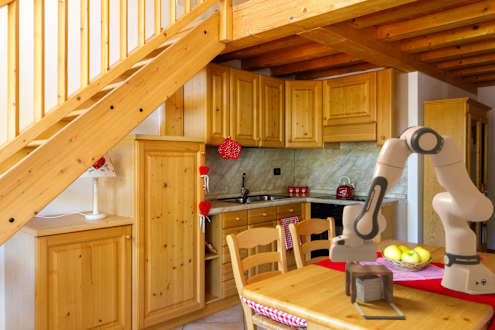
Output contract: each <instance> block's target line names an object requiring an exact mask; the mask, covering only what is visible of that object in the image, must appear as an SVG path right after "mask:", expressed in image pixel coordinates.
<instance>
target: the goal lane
mask: <svg viewBox="0 0 495 330" xmlns="http://www.w3.org/2000/svg"><path fill="white" fill-rule="evenodd" d="M353 305H354V307H355V309H356V310H357V311H358V313H359V314H360V316H361V317H362V318H364V316H366V314H365V313H364V311H363V310H362V308H361V307H360V305H359V304H358V303H357V302H356V303H353ZM389 306H390V307H392V309H393V310H394V311H395V312H396V313H397V314H398V316H404V318H406V317H405V314H404V313H403V312H402V311H401V310H400V309H399V308H398V307H397V305H395V304H394V302H393V303H390V304H389Z"/></svg>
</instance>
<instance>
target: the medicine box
mask: <svg viewBox="0 0 495 330" xmlns="http://www.w3.org/2000/svg"><path fill="white" fill-rule="evenodd" d="M381 299H382V296H381V277H380V275H361V276H357V294H356V300H359V301H360V302H362V303H368V302H374V301H379V300H381Z"/></svg>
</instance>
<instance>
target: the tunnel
mask: <svg viewBox="0 0 495 330" xmlns="http://www.w3.org/2000/svg"><path fill="white" fill-rule="evenodd" d="M344 267H345V270H344V271H345V273H344V274H345V275H344V276H345V277H344V282H345V284H344V285H345V286H344V287H345V289H344V290H345V293H344V294H345V296H350V303H351V304H354V303H357V294H356V275H361V276H363V275H377V276H379V277H381V298H383V299H384V300H385V301H386V302H387V303H388V304H389V305H390V303H393V304H394V271H392V270H391V269H390V268H389V267H387V266H386V265H385V264H361V265H347V264H345V266H344ZM350 273H351V281H350Z"/></svg>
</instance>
